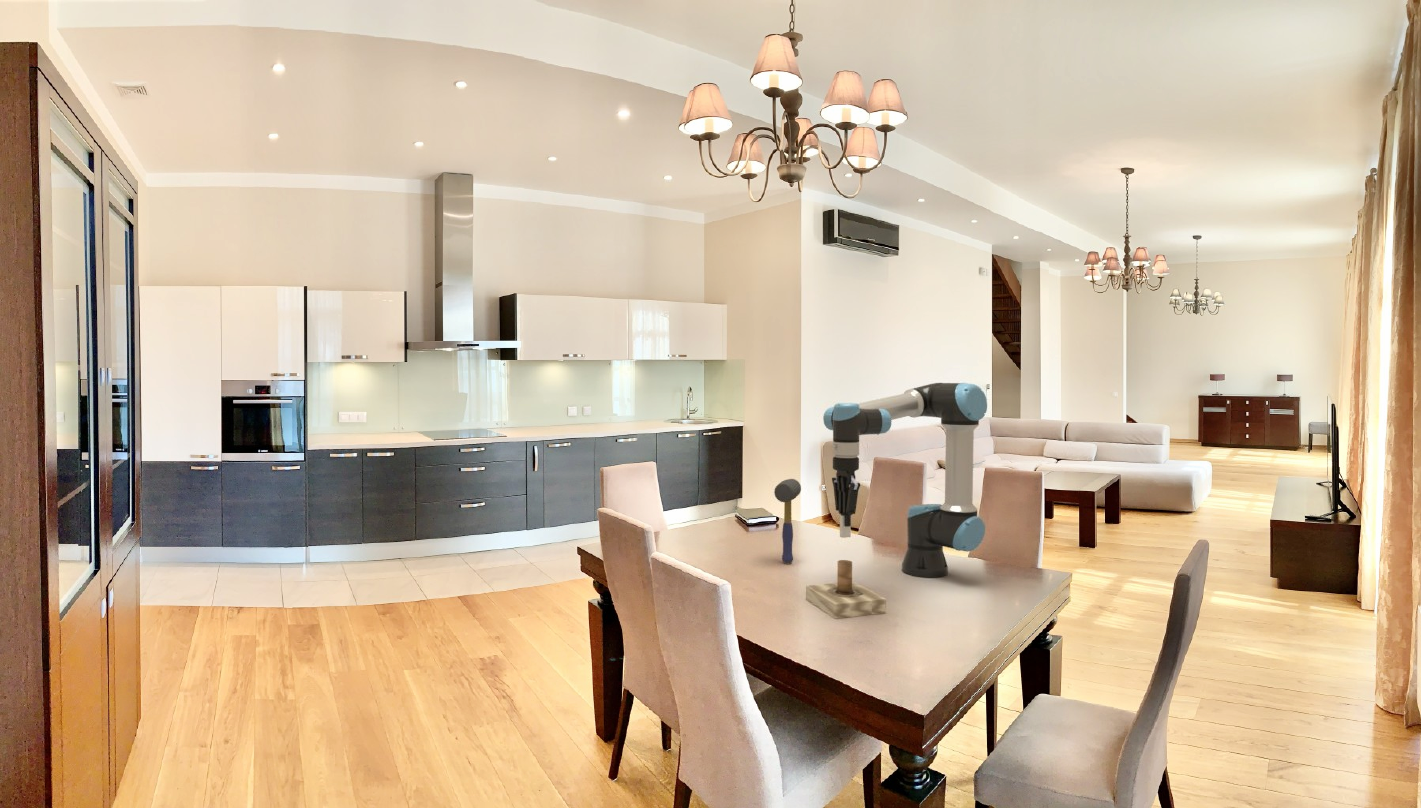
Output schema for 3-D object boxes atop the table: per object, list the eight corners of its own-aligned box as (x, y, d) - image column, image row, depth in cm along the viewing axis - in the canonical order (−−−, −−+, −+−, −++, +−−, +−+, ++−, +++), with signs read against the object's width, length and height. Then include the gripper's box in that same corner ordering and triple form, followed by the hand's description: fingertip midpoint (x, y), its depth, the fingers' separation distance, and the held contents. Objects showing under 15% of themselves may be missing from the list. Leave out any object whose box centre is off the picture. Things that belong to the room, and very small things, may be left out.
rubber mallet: (793, 568, 264) (793, 482, 263) (772, 566, 267) (772, 481, 266) (802, 560, 276) (802, 478, 275) (782, 558, 279) (782, 476, 277)
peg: (847, 602, 226) (847, 559, 225) (854, 607, 221) (855, 563, 221) (834, 604, 224) (834, 560, 224) (841, 608, 220) (841, 564, 219)
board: (853, 594, 234) (853, 581, 234) (885, 612, 216) (885, 598, 216) (805, 598, 229) (805, 585, 229) (835, 618, 211) (835, 604, 211)
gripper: (824, 454, 226) (823, 533, 227) (845, 459, 213) (844, 542, 214) (846, 453, 228) (845, 531, 229) (868, 458, 216) (867, 540, 217)
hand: (845, 536), depth 222 cm, fingers closed
